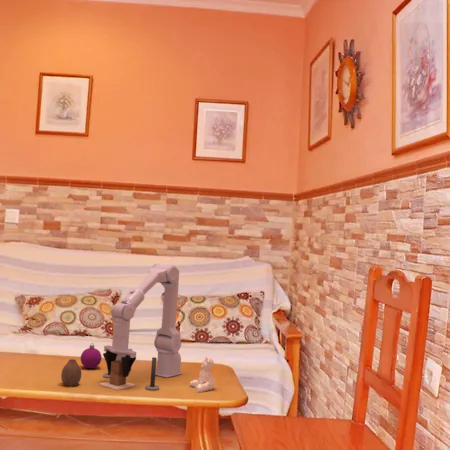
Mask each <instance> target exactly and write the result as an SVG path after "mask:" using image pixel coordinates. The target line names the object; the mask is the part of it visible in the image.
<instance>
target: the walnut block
mask: <svg viewBox="0 0 450 450" xmlns="http://www.w3.org/2000/svg"><path fill="white" fill-rule="evenodd" d="M109 381H110V384H112V385H116V386H120V385H124V384H126V382H127V377H123V365H122V360H116V361H111V373H110V378H109Z"/></svg>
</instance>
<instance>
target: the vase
mask: <svg viewBox="0 0 450 450" xmlns="http://www.w3.org/2000/svg"><path fill="white" fill-rule="evenodd" d="M60 376H61V377H60V378H61V383H62V384H63V385H64V386H66V387H75V386H78V384H80V381H81V380H82V368H81V366H80V365H79V364H78V362H77V360H76V359H74V358H73V359H71V358H70V359H69V360H68V361H67V363H66V364H65V365H64V366H63V368H62V370H61V374H60Z"/></svg>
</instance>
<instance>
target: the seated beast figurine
mask: <svg viewBox="0 0 450 450" xmlns="http://www.w3.org/2000/svg"><path fill="white" fill-rule="evenodd" d="M214 365H215V364H214V359H213V358H212V357H210V356H208V355H206V356H205V357H204V359H203V360H202V361H201V365H200V367H201V368H200V371H199V375H198V379H194V380H191V381H190V383H189V387H191V388H195V389H194V391H195V393H204V392H208V391H211V390H213V389H214V388H215V387H216V381H215V377H214V376H213V373H212V372H213V371H212V370H211V368H212V367H213V366H214Z"/></svg>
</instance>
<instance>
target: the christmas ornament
mask: <svg viewBox="0 0 450 450" xmlns="http://www.w3.org/2000/svg"><path fill="white" fill-rule="evenodd" d="M80 362H81V364H82V366H83V367H85V368H86V369H91V370H92V369H95V368H96V367H98V366H99V365H100V363H101V362H102V353H101V351H100V350H98V349H97V348H95V344H94V343H91V344H90V345H89V347H88V348H86V349H84V350H83V351H82V353H81V355H80Z"/></svg>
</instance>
